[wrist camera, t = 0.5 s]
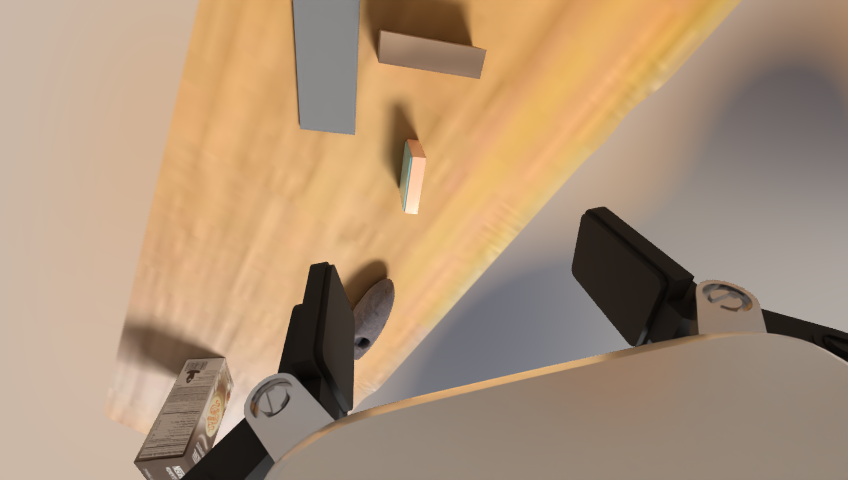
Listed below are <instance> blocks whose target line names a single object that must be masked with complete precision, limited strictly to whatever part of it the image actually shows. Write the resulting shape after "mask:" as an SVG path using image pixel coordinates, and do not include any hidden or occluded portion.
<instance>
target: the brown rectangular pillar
mask: <svg viewBox="0 0 848 480" xmlns="http://www.w3.org/2000/svg"><path fill="white" fill-rule="evenodd" d="M485 54H486V50H484V49H481V48H477V47H474V46H470V45H465V44H459V43H454V42H448V41H443V40H437V39H432V38H427V37H421V36H416V35H410V34H405V33H400V32H394V31H389V30H383V29H379V37H378V52H377V58H378V62H379V63H384V64H390V65H396V66H402V67H408V68H415V69H421V70H427V71H433V72H439V73H445V74H452V75H458V76H464V77H470V78H476V79H480V76H481V71H482V67H483V63H484V58H485Z"/></svg>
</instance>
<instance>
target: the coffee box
mask: <svg viewBox="0 0 848 480" xmlns="http://www.w3.org/2000/svg"><path fill="white" fill-rule="evenodd" d="M233 387H234V385H233V382H232V379H231V376H230V372H229V369H228V366H227V363H226V360H225V358H207V359H188V360H187V361H186V363H185V365H184V367H183V369H182V371H181V372H180V374H179V376H178V378H177V380H176V382H175V384H174V386H173V388H172V390H171V392H170V394H169V395H168V397H167V399H166V401H165V403H164V405H163V407H162V409H161V411H160V413H159V415H158V417H157V418H156V420H155V422H154V424H153V426H152V428H151V430H150V432H149V434H148V436H147V438H146V440H145V442H144V443H143V446H142V447H141V449H140V451H139V453H138V455H137V457H136V459H135V461H134V464H135V465H136V466H137V467H138V469H139V470H140V471H141V473H142V474H143V475H144V477H145V478H146V479H147V480H180V479H181V478H182V477H183V476H184V475H185V474H186V473H187V472H188V471H189V470H190V469H191V468H192V467H193V466H194V465H195V464H196V463H198V462H199V461H200V460H201V459H202V458H203V457H204V456H205V455H206V454H207V453H208V452H209V451H210V450H211V449H212V446H213V444H214V441H215V438H216V435H217V432H218V429H219V427H220V424H221V421H222V418H223V415H224V412H225V409H226V407H227V404H228V401H229V398H230V395H231V392H232V390H233Z"/></svg>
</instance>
